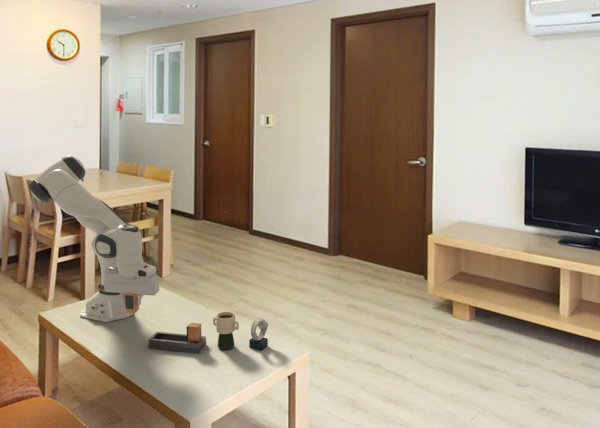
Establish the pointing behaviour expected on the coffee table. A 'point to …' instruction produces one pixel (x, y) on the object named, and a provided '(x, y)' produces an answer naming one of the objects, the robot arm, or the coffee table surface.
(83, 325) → the coffee table surface
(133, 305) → the orange block
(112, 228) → the robot arm
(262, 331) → the watch
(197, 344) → the dark grey tray
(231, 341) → the character mug
